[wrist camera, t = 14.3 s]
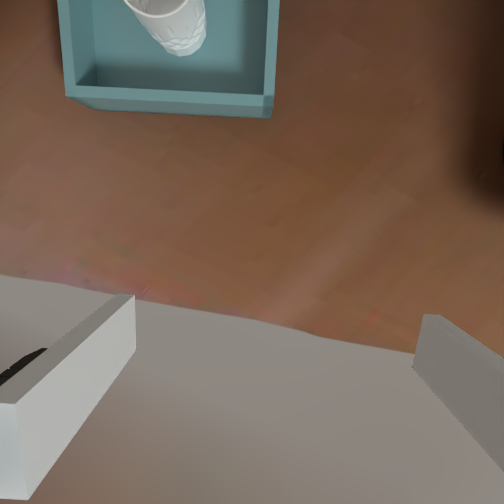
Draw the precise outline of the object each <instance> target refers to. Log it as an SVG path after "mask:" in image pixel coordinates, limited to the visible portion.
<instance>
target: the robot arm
mask: <svg viewBox="0 0 504 504" xmlns="http://www.w3.org/2000/svg"><path fill="white" fill-rule="evenodd" d="M503 154H504V150H503ZM135 350H136V330H135V295H130V294H117V295H115V296H114V297H113V298H112V299H110V300H109V301H108V302H106V303H105V304H104V305H103V306H101V307H100V308H99V309H98V310H96V311H95V312H94V313H93V314H91V315H90V316H89V317H87V318H86V319H85V320H84V321H82V322H81V323H80V324H79V325H77V326H76V327H75V328H74V329H72V330H71V331H70V332H68V333H67V334H66V335H65V336H63V337H62V338H61V339H60V340H58V341H57V342H56V343H54V344H53V345H52V346H51V347H49V348H41V349H39V350H37V351H35V352H33V353H31V354H28V355H26V356H24V357H23V358H21V359H20V360H19V361H18V362H16V363H15V364H13V365H12V366H11V367H10V369H7V370H5V371H4V372H3V373H1V374H0V498H3V499H21V500H28V499H29V498H30V496H31V495H32V493H33V492H34V491H35V489H36V488H37V487H38V485H39V484H40V482H41V481H42V480H43V478H44V477H45V475H46V474H47V473H48V471H49V470H50V469H51V467H52V466H53V464H54V463H55V461H56V460H57V459H58V457H59V456H60V454H61V453H62V452H63V451H64V449H65V448H66V446H67V445H68V444H69V442H70V441H71V439H72V438H73V436H74V435H75V433H76V432H77V431H78V430H79V428H80V427H81V425H82V424H83V423H84V421H85V420H86V419H87V417H88V416H89V414H90V413H91V412H92V410H93V409H94V407H95V406H96V404H97V403H98V402H99V400H100V399H101V398H102V396H103V395H104V394H105V392H106V391H107V389H108V388H109V386H110V385H111V384H112V382H113V381H114V380H115V378H116V377H117V375H118V374H119V373H120V371H121V370H122V368H123V367H124V366H125V364H126V363H127V362H128V360H129V359H130V357H131V356H132V355H133V353H134V352H135ZM412 368H413V369H414V370H415V371H416V373H418V375H419V376H420V377H421V378H422V379H423V380H424V382H425V383H426V384H427V385H428V386H429V387H430V389H431V390H432V391H433V392H434V393H435V394H436V395H437V396H438V398H439V399H440V400H441V401H442V402H443V403H444V404H445V405H446V407H447V408H448V409H449V410H450V411H451V412H452V414H453V415H454V416H455V417H456V418H457V419H458V420H459V421H460V423H461V424H462V425H463V426H464V427H465V428H466V430H467V431H468V432H469V433H470V434H471V435H472V436H473V438H475V440H476V441H477V442H478V443H479V444H480V446H481V447H482V448H483V449H484V450H485V451H486V452H487V454H488V455H489V456H490V457H491V458H492V459H493V460H494V461H495V463H496V464H497V465H498V466H499V467H500V468H501V469H502V471H503V472H504V358H502V357H501V356H499V355H498V354H496V353H495V352H493V351H492V350H490V349H489V348H488V347H486V346H485V345H483V344H482V343H480V342H479V341H477V340H476V339H474V338H473V337H472V336H470V335H469V334H467V333H466V332H464V331H463V330H461V329H460V328H458V327H457V326H456V325H454V324H453V323H451V322H450V321H448V320H447V319H445V318H444V317H442V316H441V315H431V314H424V315H423V320H422V325H421V329H420V334H419V338H418V343H417V347H416V352H415V357H414V362H413V366H412Z"/></svg>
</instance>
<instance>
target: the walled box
mask: <svg viewBox="0 0 504 504" xmlns="http://www.w3.org/2000/svg"><path fill="white" fill-rule="evenodd" d="M279 2H280V0H204V6H205V15H206V20H207V30H206V37H205V39H204V41H203V43H202V45H201V47H200V48H199V49H198V50H197V51H195V52H194V53H193V54H191V55H187V56H181V57H178V56H176V55H173V54H170V53H168V52H167V51H166V50H165V49H164V48H163V47H162V46H161V45H160V44H159V43H158V42H157V41H156V40H155V39H154V38H153V37H152V36H151V34H150V33H149V32H148V31H147V30H146V28H145V27H144V26H143V25H142V24H141V22H140V21H139V20H138V18H137V17H136V16H135V15H134V13H133V12H132V11H131V9H130V8H129V7H128V6H127V4H126V3H125V2H124V1H123V0H57V4H58V15H59V26H60V37H61V49H62V60H63V71H64V82H65V93H66V97H68V98H70V99H72V100H74V101H76V102H79V103H81V104H83V105H85V106H87V107H89V108H91V109H93V110H106V111H125V112H145V113H165V114H185V115H205V116H225V117H244V118H264V119H270V118H271V114H272V110H273V104H274V87H275V70H276V53H277V36H278V19H279Z"/></svg>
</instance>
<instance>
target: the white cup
mask: <svg viewBox="0 0 504 504" xmlns="http://www.w3.org/2000/svg"><path fill="white" fill-rule="evenodd" d="M123 1H124V2H125V3H126V4H127V6H128V7H129V8H130V9H131V11H132V12H133V13H134V15H135V16H136V17H137V18H138V20H139V21H140V22H141V24H142V25H143V26H144V27H145V28H146V30H147V31H148V32H149V33H150V34H151V36H152V37H153V38H154V39H155V40H156V41H157V42H158V43H159V44H160V45H161V46H162V47H163V48H164V49H165V50H166V51H167V52H168V53H170V54H173V55H176V56H178V57H181V56H187V55H191V54H193V53H194V52H195V51H197V50H198V49H199V48H200V47H201V45H202V43H203V41H204V39H205V37H206V30H207V20H206V15H205V6H204V0H123Z"/></svg>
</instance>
